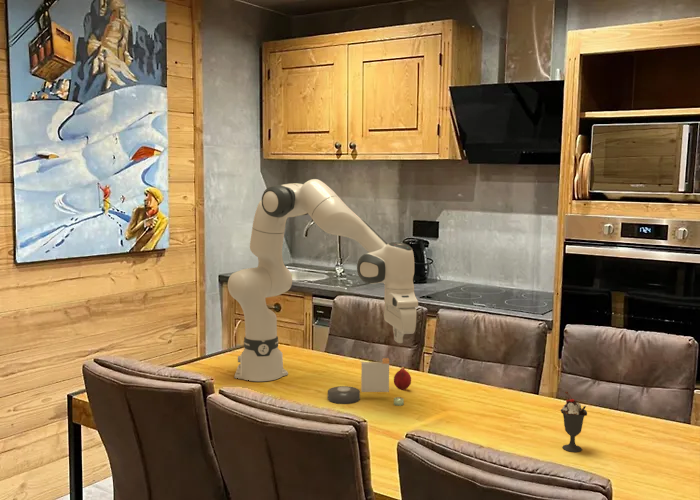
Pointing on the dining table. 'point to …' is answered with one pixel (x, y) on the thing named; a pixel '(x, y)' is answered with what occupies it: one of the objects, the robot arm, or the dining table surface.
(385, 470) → the dining table surface
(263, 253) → the robot arm
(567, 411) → the sundae
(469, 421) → the dining table surface
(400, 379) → the onion
